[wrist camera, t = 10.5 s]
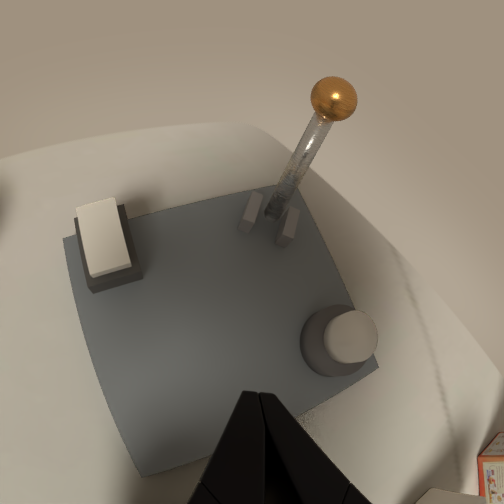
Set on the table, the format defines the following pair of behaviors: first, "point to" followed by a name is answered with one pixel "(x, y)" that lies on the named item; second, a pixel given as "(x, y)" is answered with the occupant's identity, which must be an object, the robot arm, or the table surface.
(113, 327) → the switch panel
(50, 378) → the table surface
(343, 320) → the push button
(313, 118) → the toggle lever
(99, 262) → the rocker switch
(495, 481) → the cracker box
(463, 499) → the medicine bottle
